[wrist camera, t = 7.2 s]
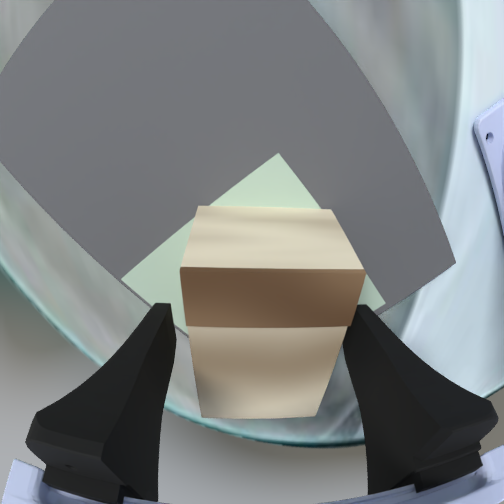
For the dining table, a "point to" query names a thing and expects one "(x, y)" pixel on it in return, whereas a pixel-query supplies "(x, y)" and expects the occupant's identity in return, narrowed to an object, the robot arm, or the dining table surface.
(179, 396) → the dining table surface
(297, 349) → the block
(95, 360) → the dining table surface
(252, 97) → the mat
